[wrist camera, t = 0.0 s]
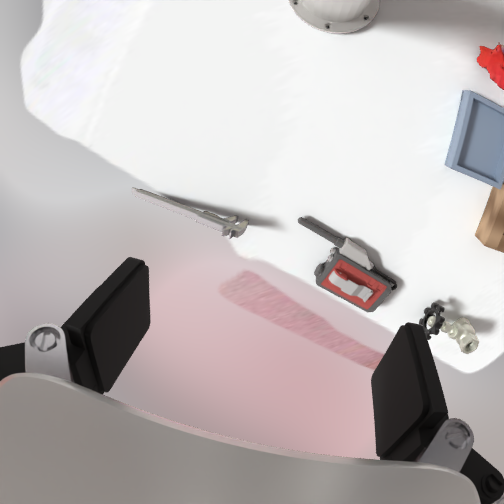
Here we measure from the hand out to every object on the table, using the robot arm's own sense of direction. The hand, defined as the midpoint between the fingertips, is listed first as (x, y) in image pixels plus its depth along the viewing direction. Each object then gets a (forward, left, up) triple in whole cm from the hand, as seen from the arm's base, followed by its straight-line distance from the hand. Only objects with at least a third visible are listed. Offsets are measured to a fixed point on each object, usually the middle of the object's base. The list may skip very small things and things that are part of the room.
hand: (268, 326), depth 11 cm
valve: (+22, +34, -37) cm, 55 cm away
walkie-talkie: (+16, +10, -37) cm, 42 cm away
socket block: (0, +36, -37) cm, 51 cm away
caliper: (+12, -16, -37) cm, 42 cm away
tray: (-10, +26, -37) cm, 46 cm away
